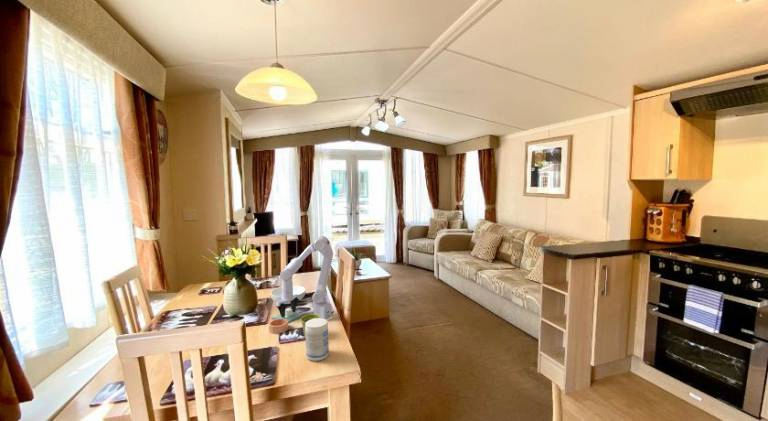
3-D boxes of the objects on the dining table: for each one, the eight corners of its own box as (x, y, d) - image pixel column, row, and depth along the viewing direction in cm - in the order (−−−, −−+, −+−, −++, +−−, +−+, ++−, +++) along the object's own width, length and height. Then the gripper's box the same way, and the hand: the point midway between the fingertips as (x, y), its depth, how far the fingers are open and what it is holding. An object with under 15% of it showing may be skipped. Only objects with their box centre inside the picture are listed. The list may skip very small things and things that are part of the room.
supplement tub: (329, 360, 133) (328, 326, 132) (306, 363, 131) (304, 328, 130) (328, 348, 143) (327, 316, 141) (306, 351, 141) (305, 318, 139)
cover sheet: (303, 315, 177) (302, 308, 177) (287, 322, 168) (287, 315, 167) (288, 311, 183) (288, 304, 182) (273, 318, 173) (273, 311, 173)
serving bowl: (300, 308, 188) (300, 296, 188) (265, 308, 189) (265, 296, 188) (309, 295, 209) (309, 285, 208) (277, 295, 209) (277, 285, 209)
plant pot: (324, 333, 157) (324, 315, 156) (312, 341, 149) (312, 323, 148) (309, 329, 161) (308, 312, 160) (296, 337, 152) (296, 320, 152)
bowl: (291, 328, 162) (291, 320, 162) (277, 336, 154) (277, 328, 154) (279, 324, 167) (279, 317, 166) (265, 331, 159) (264, 323, 158)
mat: (305, 315, 177) (305, 314, 177) (287, 324, 166) (287, 324, 166) (289, 310, 184) (288, 310, 184) (270, 319, 173) (270, 318, 173)
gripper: (292, 285, 182) (293, 308, 183) (271, 293, 169) (272, 317, 171) (301, 287, 178) (302, 310, 180) (280, 295, 166) (281, 320, 167)
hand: (288, 314), depth 175 cm, fingers open, 7 cm apart
